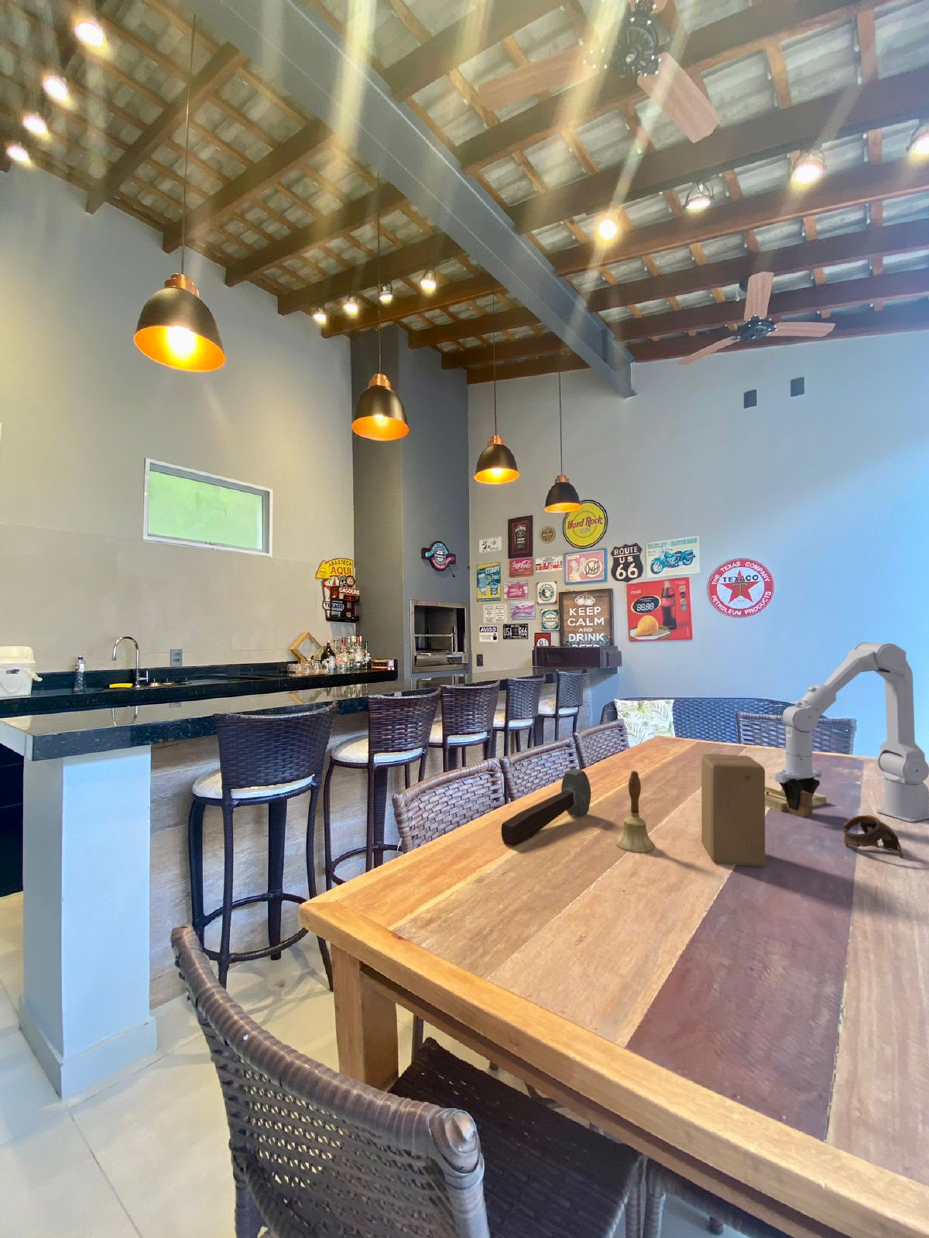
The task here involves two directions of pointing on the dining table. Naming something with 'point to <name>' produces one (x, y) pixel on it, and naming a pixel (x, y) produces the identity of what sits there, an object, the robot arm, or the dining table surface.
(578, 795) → the hammer
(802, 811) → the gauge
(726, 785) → the wooden block
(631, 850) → the hand bell
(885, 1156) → the dining table surface
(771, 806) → the board
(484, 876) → the dining table surface
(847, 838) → the broken clay pot
